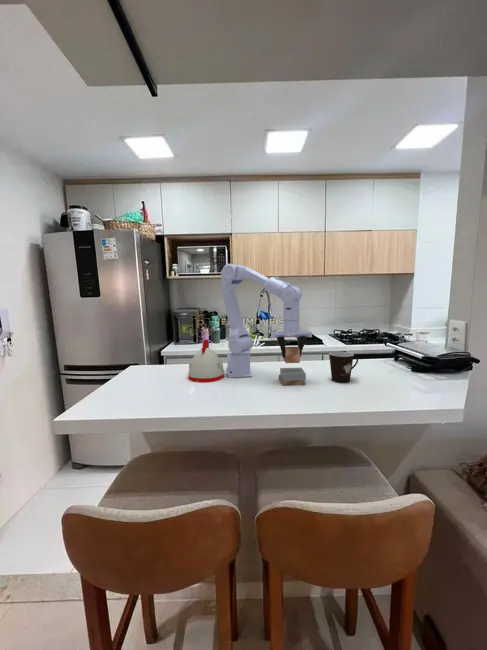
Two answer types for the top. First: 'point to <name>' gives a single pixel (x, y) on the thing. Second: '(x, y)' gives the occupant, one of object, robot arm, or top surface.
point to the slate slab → (292, 374)
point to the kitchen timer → (206, 366)
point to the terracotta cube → (292, 355)
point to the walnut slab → (291, 382)
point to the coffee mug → (341, 366)
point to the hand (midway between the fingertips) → (291, 357)
